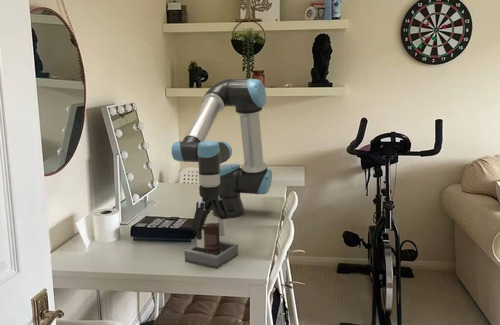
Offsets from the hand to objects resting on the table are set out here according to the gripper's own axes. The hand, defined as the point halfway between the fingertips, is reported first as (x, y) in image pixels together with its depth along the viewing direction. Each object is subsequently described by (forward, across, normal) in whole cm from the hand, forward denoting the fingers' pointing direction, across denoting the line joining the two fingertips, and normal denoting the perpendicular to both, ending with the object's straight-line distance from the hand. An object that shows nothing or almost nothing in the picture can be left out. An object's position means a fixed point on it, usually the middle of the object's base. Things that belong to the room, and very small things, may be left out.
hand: (211, 241), depth 182 cm
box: (+6, 0, 0) cm, 6 cm away
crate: (+6, 0, 0) cm, 6 cm away
